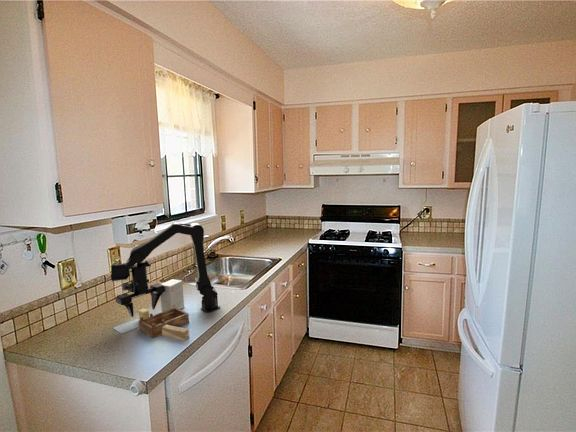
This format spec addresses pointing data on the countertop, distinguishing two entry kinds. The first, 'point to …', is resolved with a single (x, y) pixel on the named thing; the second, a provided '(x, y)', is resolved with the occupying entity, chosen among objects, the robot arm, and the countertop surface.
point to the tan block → (175, 332)
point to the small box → (172, 295)
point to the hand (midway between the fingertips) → (143, 312)
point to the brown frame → (163, 321)
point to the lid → (132, 322)
